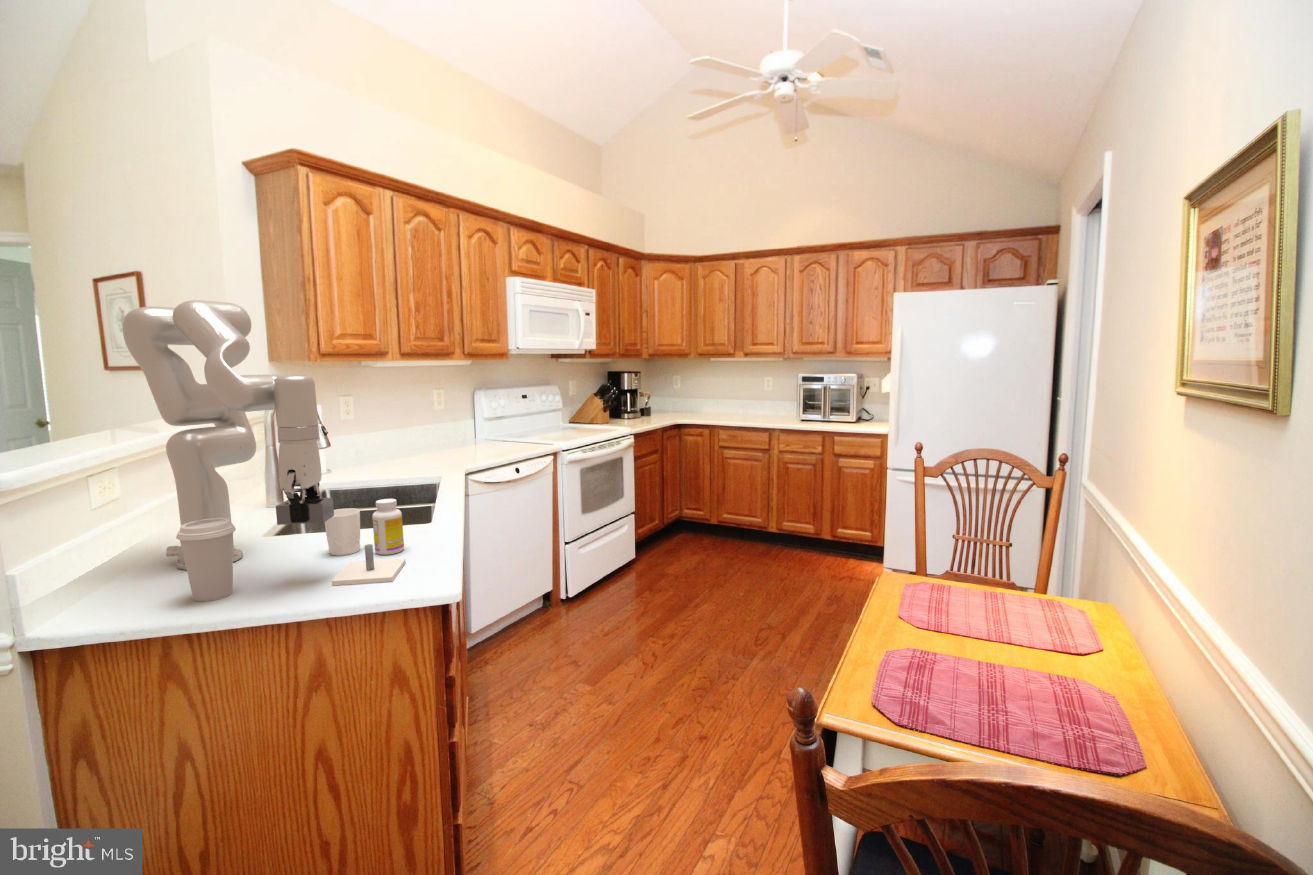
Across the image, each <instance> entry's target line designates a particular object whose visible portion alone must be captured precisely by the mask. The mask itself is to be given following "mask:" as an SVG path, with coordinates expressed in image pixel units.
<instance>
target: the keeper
mask: <svg viewBox="0 0 1313 875" xmlns="http://www.w3.org/2000/svg"><path fill="white" fill-rule="evenodd" d="M373 545H374V544H371V543H369V544H365V545H364V555H365V556H364V557H365V561H352V562H351V561H350V562H349V563H348V564H346V566H345V567H344V568H343V569H342V570H341V571H340V572H339V573H338V574H337V575H336V576H335V577H334V578H333V579H332V580H331V586H346V585H363V584H374V583H375V584H377V583H379V584H381V583H391V582H392V583H393V581H394V580H395V579H396V577H397V576H398V574H399V573H400V572H401V570H402V569H403V568H402V567H404V566H405V565H406V561H407V560H406V558H400V559H399V558H398V559H383V560H382V559H381V560H375V559H374V546H373ZM404 564H405V565H404ZM403 565H404V566H403ZM399 571H400V572H399ZM398 572H399V573H398Z"/></svg>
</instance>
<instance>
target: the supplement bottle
mask: <svg viewBox="0 0 1313 875" xmlns="http://www.w3.org/2000/svg"><path fill="white" fill-rule="evenodd" d="M397 503H398V502H397V499H395V498H383V499H379V500H378V499H377V500H376V501H375V507H376V511H374V512H373V513H372V516H371V518H372V528H373V541H374V542H373V545H374V551H375V553H376V554H377V555H383V556H384V555H386V556H387V555H394V554H398V553H401V552H402V551H404V549H405V541H404V540H405V539H404V526H403V514H402V510H400V509H398V508H397Z"/></svg>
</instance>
